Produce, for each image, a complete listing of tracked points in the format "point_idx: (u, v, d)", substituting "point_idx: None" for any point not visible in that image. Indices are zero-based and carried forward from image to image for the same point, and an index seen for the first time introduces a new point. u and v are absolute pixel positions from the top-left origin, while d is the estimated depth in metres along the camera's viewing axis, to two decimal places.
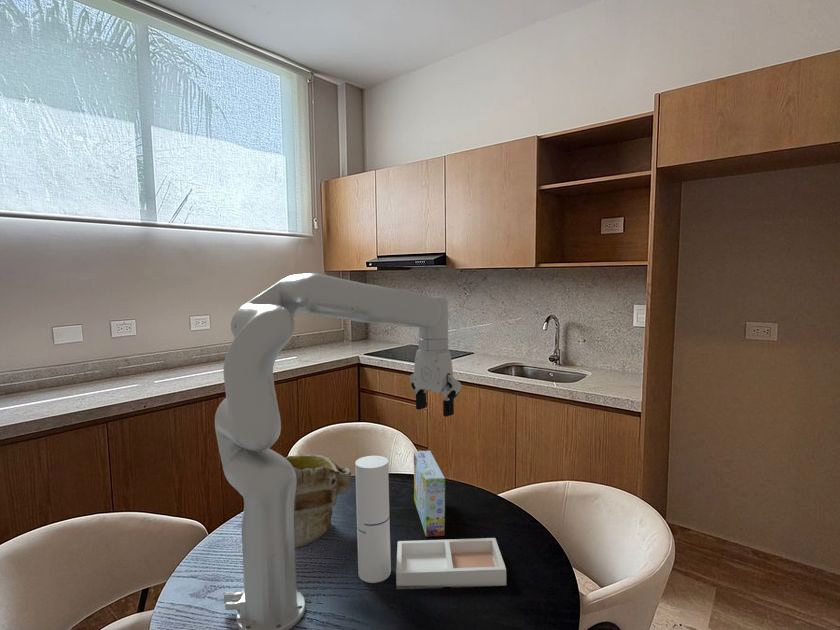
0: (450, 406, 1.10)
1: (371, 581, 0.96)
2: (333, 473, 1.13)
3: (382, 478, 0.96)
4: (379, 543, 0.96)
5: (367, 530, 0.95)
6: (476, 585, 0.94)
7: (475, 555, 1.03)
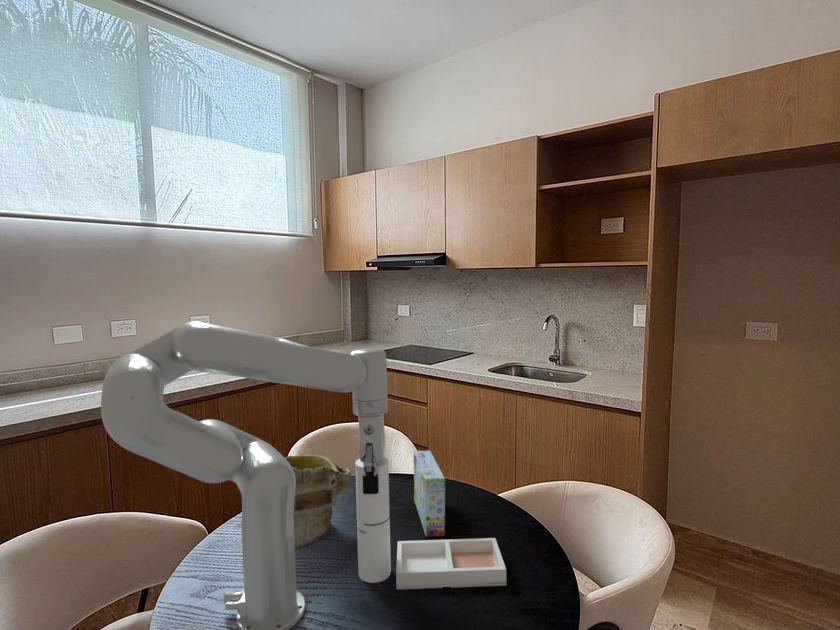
0: None
1: (371, 581, 0.96)
2: (333, 473, 1.13)
3: (382, 478, 0.96)
4: (379, 543, 0.96)
5: (367, 530, 0.95)
6: (476, 585, 0.94)
7: (475, 555, 1.03)
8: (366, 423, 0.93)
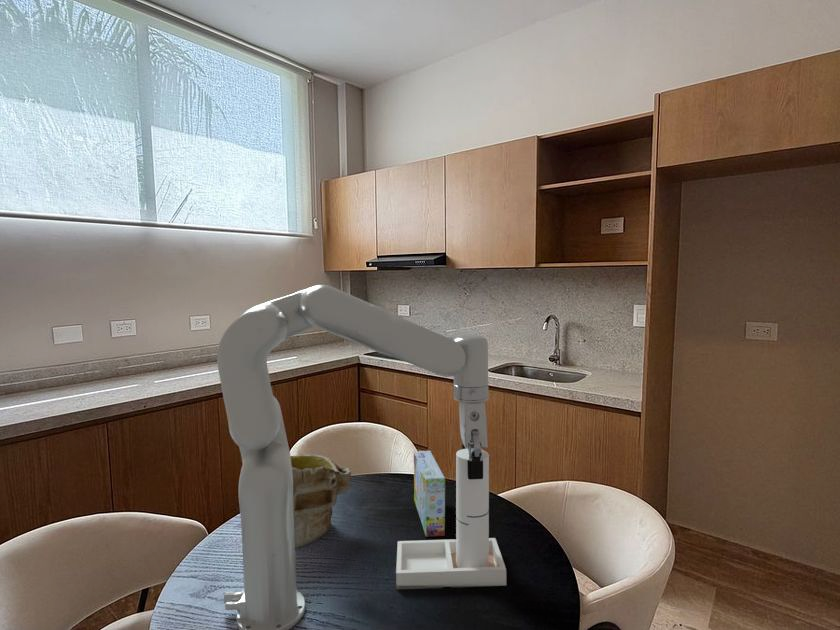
0: None
1: None
2: (333, 473, 1.13)
3: (485, 471, 0.96)
4: (481, 535, 0.96)
5: (470, 522, 0.96)
6: (476, 585, 0.94)
7: None
8: (472, 409, 0.93)
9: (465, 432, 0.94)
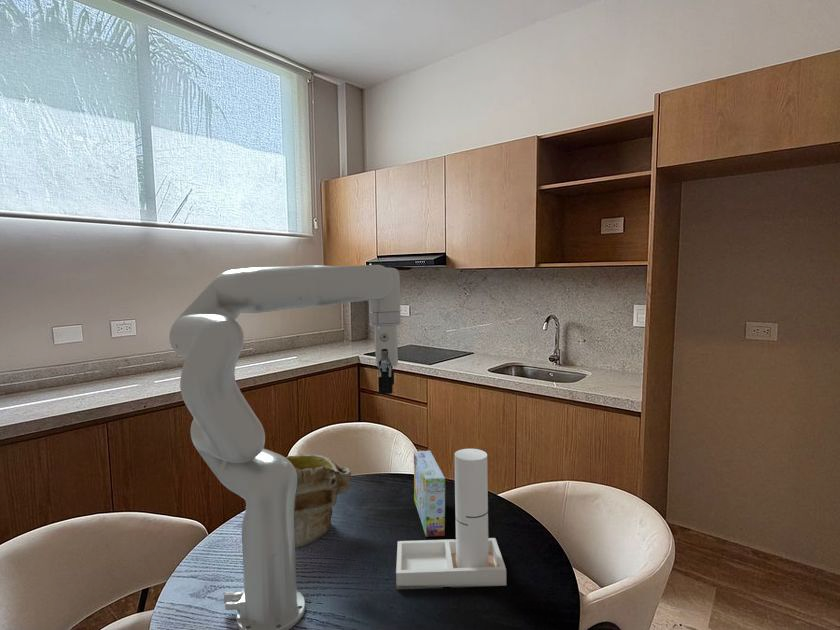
0: None
1: None
2: (333, 473, 1.13)
3: (483, 471, 0.96)
4: (481, 535, 0.96)
5: (469, 522, 0.96)
6: (476, 585, 0.94)
7: None
8: (382, 331, 1.04)
9: (376, 352, 1.04)
